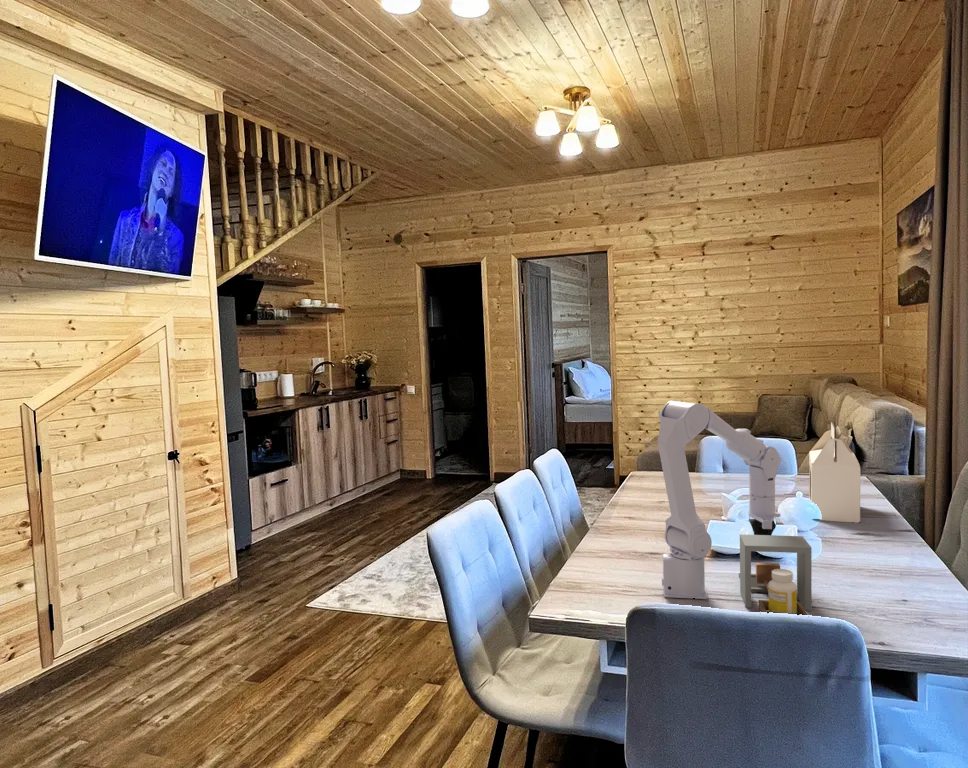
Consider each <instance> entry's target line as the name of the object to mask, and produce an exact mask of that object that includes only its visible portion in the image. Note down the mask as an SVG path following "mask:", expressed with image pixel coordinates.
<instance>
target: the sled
mask: <svg viewBox="0 0 968 768" xmlns="http://www.w3.org/2000/svg"><path fill="white" fill-rule="evenodd" d="M774 569H781V565H780V563H779V562H776V563H775V562H755V574H756V582H757V583H760V584H764V585H765V587H766V589H767V591H768V584H769V582H770V581H771V580H773V579H772V570H774ZM758 610H759V612H760V611H761V612H767V613H768V611H767V610H769V599H758ZM799 614H802V615H808V613H807V611H805V609H804V607H803V606H802V604H801V602H800V601H797V615H799Z"/></svg>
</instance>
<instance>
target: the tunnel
mask: <svg viewBox="0 0 968 768" xmlns="http://www.w3.org/2000/svg"><path fill="white" fill-rule="evenodd" d="M812 549H813V548H812V547H811V545H810V543H809V542H808V541H807V540H806V538H805V537H804V536H803V535H773V534H772V535H754V534H743V533H742V534H739V573H740V578H739V586H740V587H739V590H740V592H739V594H740V593H741V594H740V596H742V597H741V599H742V602H743V604H745V605H744V608H746V607H751V608H752V592H751V574H752V552H760V553H761V552H765V553H791V554H794V553H795V554H796V587H797V600H799V602H800V603H801V605H802V606H803V608H804V610H806V611H805V612H812V611H813V610H812V601H813V600H812V585H813V584H812V581H813V580H812V574H813V573H812V571H813V570H812V565H813V564H812V557H813V556H812Z"/></svg>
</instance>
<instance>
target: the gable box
mask: <svg viewBox="0 0 968 768" xmlns="http://www.w3.org/2000/svg"><path fill="white" fill-rule="evenodd" d="M842 433H843V432H842V431H841V428H840V425H837V426H836V425H835V424H834V421H831V422H830V429H828V430H826V431H825V432H823V434H822V436H821V437H820V438H819V439H818V440H817V442H816V443H815V445H814V446H813V447H812V448H811V449H810V451H808V452H809V453H808V454H809V457H808V460H809V461H808V463H809V465H808V467H809V468H808V469H809V470H808V471H809V474H808V475H809V476H808V479H809V481H808V484H809V485H808V486H809V487H808V494H809V495H808V498H809V499H810V500H811V501H812V502H814V503H815V504H817V506H818V507H819V509H820V511H821V514H822V520H821V521H826V522H841V523H852V522H854V523H856V524H860V523H861V465H860V463H859V460H858V459H857V457H856V455H855V453H854V452H853V451H852V449H851V448H850V447H849V445H848V444H847V442H846V441H845V440H844V438H843V437H842ZM854 523H853V524H854Z"/></svg>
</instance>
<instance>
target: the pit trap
mask: <svg viewBox="0 0 968 768" xmlns="http://www.w3.org/2000/svg"><path fill="white" fill-rule="evenodd" d="M738 578H739V579H740V572H738ZM757 592H764V593H763V594H768V591H767V589H766V587H765V585H764V584H760V583H757V582H756V573H751V593H757Z"/></svg>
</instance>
